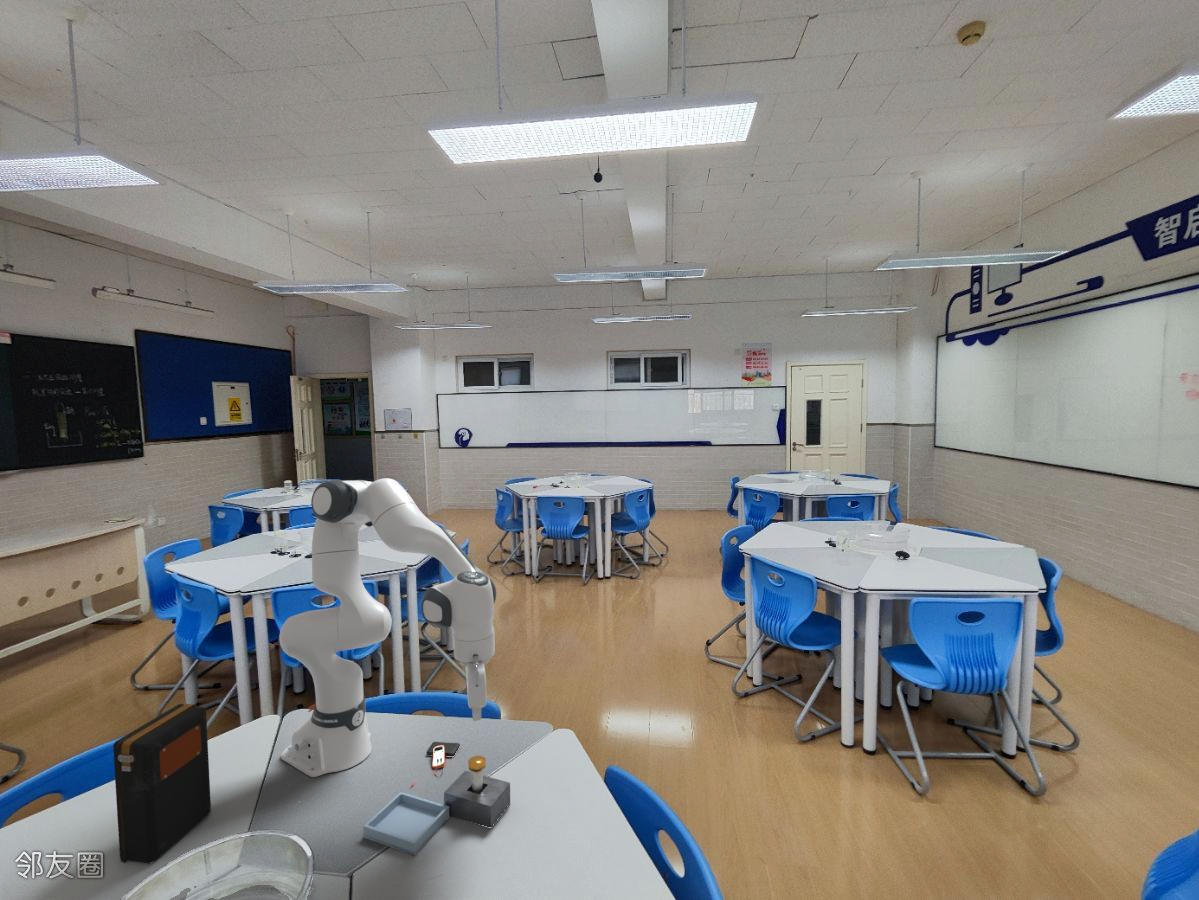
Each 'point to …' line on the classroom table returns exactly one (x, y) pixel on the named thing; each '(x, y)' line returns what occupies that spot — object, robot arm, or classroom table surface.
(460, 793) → the block
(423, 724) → the classroom table surface
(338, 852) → the classroom table surface
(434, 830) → the tray
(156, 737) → the black case
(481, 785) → the pin
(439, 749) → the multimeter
